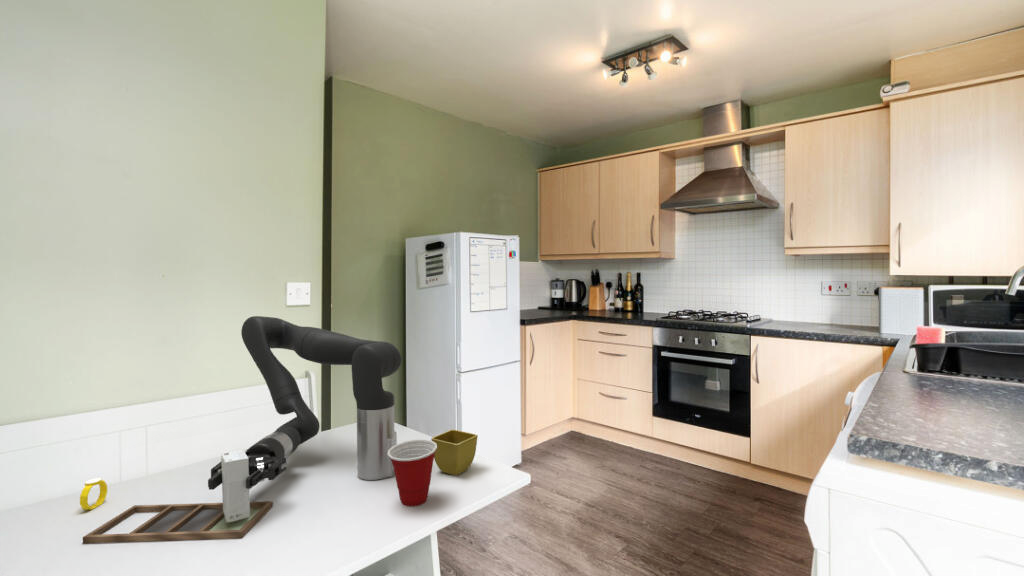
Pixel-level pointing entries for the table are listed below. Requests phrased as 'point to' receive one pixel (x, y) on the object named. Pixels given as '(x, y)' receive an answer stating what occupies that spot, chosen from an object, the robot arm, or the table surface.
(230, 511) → the skincare box
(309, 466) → the table surface
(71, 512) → the table surface
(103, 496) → the watch
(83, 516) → the table surface
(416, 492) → the plastic cup
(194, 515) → the divided wooden frame
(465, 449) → the flower pot
